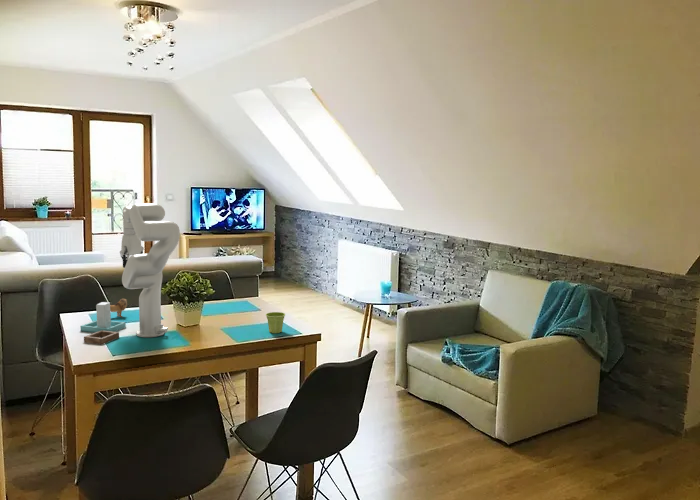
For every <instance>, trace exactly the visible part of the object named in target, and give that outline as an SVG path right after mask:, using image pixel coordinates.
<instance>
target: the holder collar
mask: <svg viewBox="0 0 700 500" xmlns="http://www.w3.org/2000/svg"><path fill="white" fill-rule="evenodd" d="M119 338H120V332H119V331H115V332H111V331H103V330H101V331H98V332H95V333H91V334H87V335H84V336H83V342H84V343H87V344H96V345H104V343H105V344H107V343H110V342H112V341H114V339H115V340H117V339H119ZM109 341H110V342H109Z"/></svg>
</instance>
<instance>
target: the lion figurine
mask: <svg viewBox="0 0 700 500" xmlns="http://www.w3.org/2000/svg"><path fill="white" fill-rule="evenodd" d="M127 306H128V299H126V298H121V299H119V301H118V302H116V303H115V304H110V313H116V316H117V317H120V318H123V315H122V312H123V311H125V310H126V308H127Z"/></svg>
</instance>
